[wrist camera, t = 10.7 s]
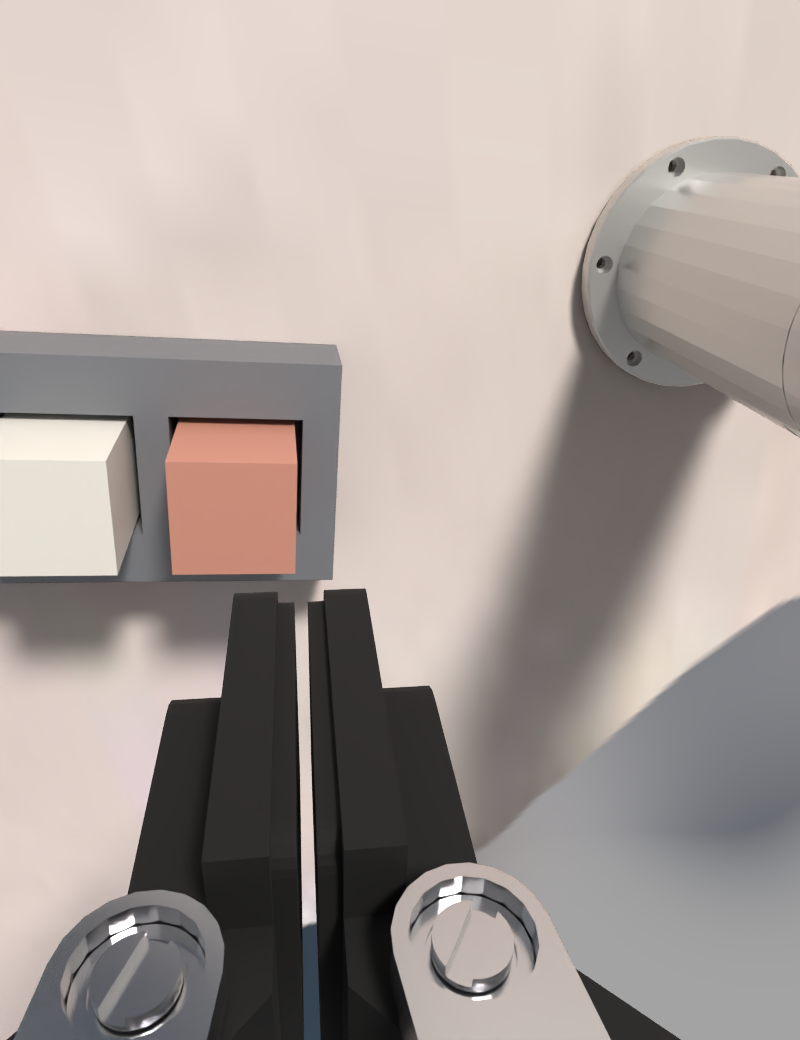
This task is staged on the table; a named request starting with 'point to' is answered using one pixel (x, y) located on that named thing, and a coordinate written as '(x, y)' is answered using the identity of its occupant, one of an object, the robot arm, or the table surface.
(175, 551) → the key brick
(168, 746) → the robot arm
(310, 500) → the console
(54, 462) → the key ivory
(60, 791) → the table surface
